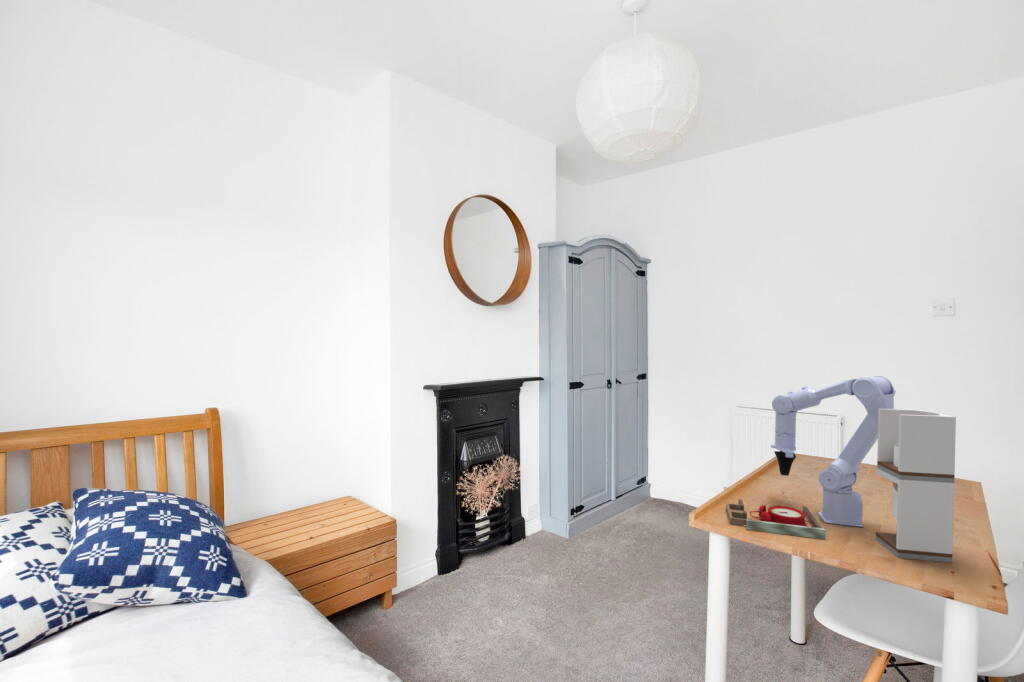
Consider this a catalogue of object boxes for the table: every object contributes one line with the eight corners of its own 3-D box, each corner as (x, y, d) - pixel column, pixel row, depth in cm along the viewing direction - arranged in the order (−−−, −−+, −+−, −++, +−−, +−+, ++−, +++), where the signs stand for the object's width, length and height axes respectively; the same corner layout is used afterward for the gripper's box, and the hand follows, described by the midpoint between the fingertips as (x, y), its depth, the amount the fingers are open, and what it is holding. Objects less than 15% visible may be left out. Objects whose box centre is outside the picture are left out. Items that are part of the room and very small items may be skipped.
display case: (924, 544, 128) (928, 410, 127) (952, 562, 118) (955, 417, 117) (875, 539, 130) (878, 408, 130) (898, 557, 120) (901, 414, 119)
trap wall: (806, 512, 150) (806, 504, 150) (825, 539, 130) (825, 530, 130) (738, 504, 156) (738, 496, 156) (746, 529, 136) (746, 520, 136)
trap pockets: (740, 510, 151) (740, 504, 151) (745, 526, 139) (745, 519, 139) (726, 508, 152) (726, 503, 152) (730, 524, 140) (730, 517, 140)
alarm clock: (816, 522, 133) (756, 503, 138) (809, 544, 134) (750, 524, 138) (807, 509, 143) (752, 492, 148) (801, 529, 143) (746, 511, 148)
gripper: (767, 427, 165) (766, 467, 165) (775, 436, 151) (774, 479, 152) (791, 429, 163) (790, 469, 163) (801, 437, 149) (800, 482, 149)
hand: (784, 474), depth 157 cm, fingers closed
